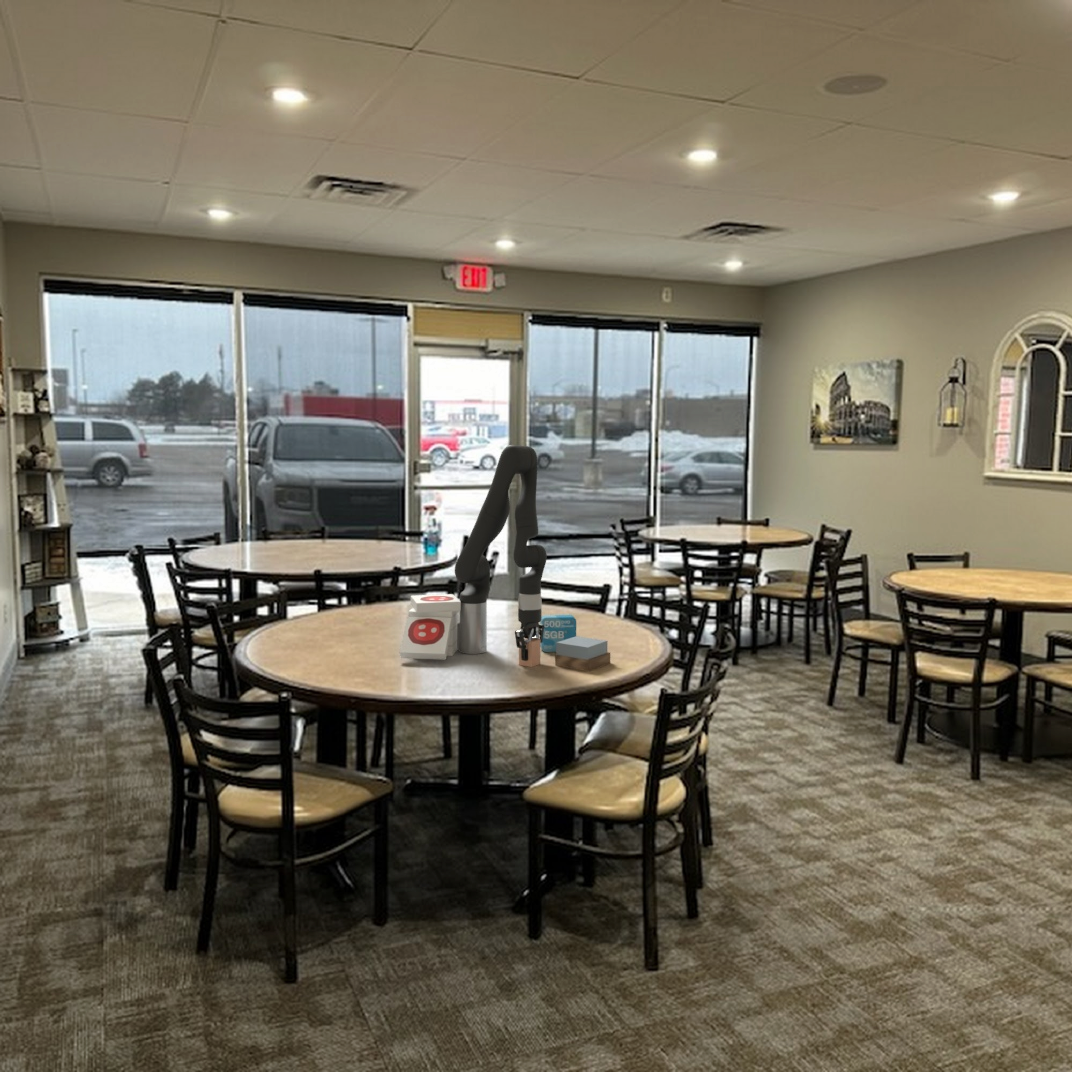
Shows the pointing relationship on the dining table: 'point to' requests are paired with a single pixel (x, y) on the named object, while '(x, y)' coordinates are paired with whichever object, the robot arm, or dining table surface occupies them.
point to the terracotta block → (531, 654)
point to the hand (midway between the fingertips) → (529, 658)
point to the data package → (556, 630)
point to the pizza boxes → (431, 627)
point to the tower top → (581, 647)
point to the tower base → (583, 662)
